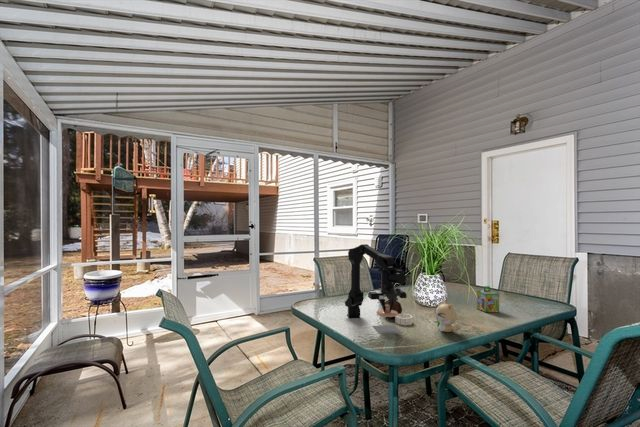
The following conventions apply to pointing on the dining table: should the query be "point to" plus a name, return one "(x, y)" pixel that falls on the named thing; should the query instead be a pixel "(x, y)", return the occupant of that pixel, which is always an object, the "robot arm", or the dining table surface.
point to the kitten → (446, 317)
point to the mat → (387, 329)
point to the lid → (387, 312)
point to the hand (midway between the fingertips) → (387, 311)
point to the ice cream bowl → (395, 307)
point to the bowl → (404, 319)
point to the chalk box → (487, 300)
